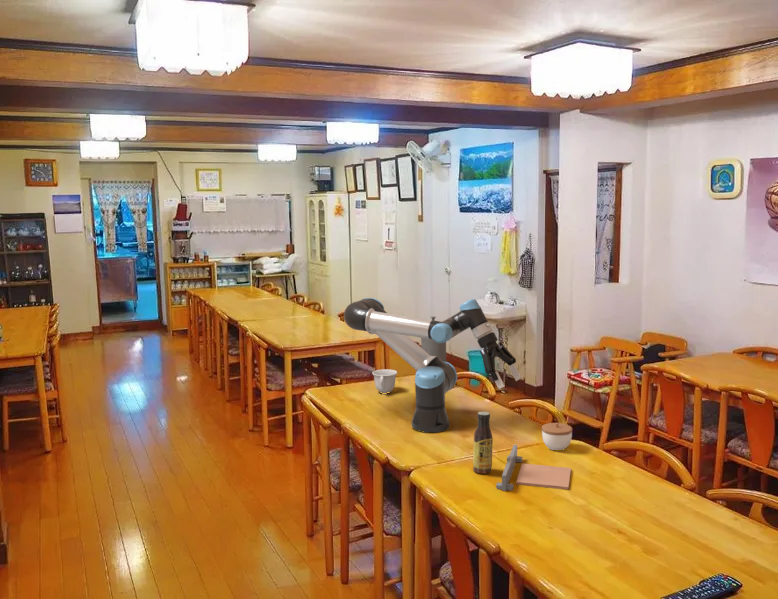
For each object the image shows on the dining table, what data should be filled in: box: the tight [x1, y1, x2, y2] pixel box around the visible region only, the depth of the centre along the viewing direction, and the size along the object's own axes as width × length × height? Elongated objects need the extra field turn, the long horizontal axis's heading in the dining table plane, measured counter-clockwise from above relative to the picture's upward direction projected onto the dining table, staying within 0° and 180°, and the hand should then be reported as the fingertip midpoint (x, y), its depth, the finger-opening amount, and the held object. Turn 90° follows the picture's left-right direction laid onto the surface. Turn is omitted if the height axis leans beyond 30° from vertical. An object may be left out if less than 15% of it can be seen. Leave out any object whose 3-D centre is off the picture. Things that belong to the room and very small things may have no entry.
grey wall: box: [495, 444, 523, 492], centre depth 223 cm, size 5×28×5 cm, turn 162°
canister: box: [420, 316, 447, 362], centre depth 329 cm, size 13×13×35 cm
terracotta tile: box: [515, 462, 572, 490], centre depth 220 cm, size 16×16×1 cm
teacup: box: [371, 368, 398, 393], centre depth 322 cm, size 12×15×10 cm
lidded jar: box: [541, 422, 573, 451], centre depth 246 cm, size 11×11×9 cm
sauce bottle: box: [472, 411, 494, 475], centre depth 225 cm, size 7×6×20 cm
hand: (510, 383), depth 267 cm, fingers open, 13 cm apart
